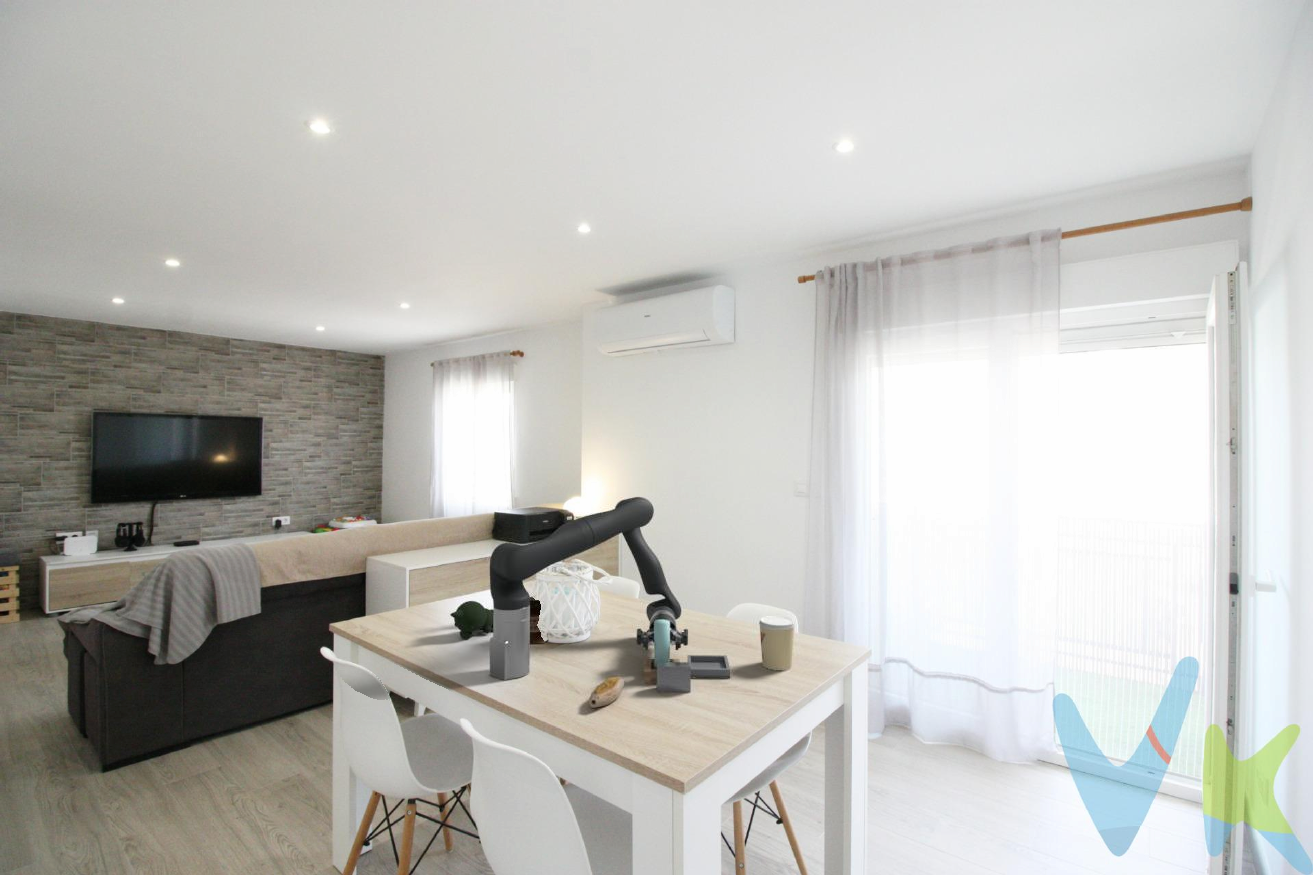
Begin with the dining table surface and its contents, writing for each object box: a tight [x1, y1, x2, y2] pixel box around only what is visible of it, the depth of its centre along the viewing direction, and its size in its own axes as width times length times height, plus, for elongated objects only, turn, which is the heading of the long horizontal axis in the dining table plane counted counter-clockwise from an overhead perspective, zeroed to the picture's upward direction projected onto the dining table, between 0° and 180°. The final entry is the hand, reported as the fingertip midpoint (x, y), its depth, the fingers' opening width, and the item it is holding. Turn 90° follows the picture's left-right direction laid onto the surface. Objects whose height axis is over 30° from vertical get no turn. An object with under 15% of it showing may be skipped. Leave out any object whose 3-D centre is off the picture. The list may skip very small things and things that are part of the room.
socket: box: [643, 658, 681, 685], centre depth 153 cm, size 9×9×3 cm
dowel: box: [653, 619, 671, 669], centre depth 153 cm, size 4×4×14 cm
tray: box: [686, 654, 731, 679], centre depth 157 cm, size 11×11×2 cm
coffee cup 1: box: [530, 596, 545, 644], centre depth 182 cm, size 9×8×13 cm
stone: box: [588, 676, 625, 709], centre depth 139 cm, size 5×14×4 cm, turn 155°
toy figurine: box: [449, 600, 493, 640], centre depth 189 cm, size 9×19×25 cm
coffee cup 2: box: [758, 615, 796, 671], centre depth 161 cm, size 9×9×12 cm
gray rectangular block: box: [656, 661, 692, 693], centre depth 145 cm, size 3×8×6 cm, turn 89°
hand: (661, 645), depth 151 cm, fingers open, 7 cm apart
